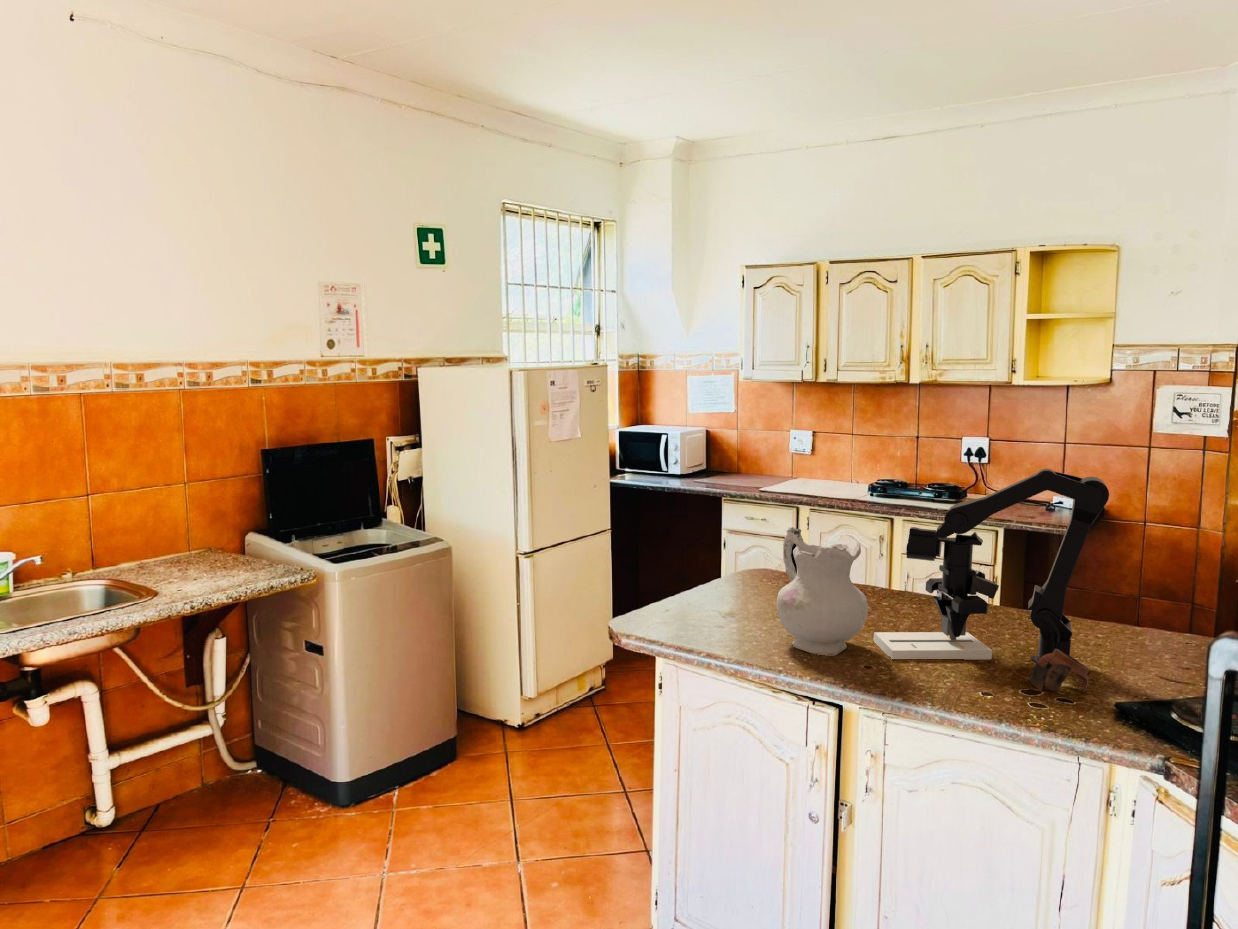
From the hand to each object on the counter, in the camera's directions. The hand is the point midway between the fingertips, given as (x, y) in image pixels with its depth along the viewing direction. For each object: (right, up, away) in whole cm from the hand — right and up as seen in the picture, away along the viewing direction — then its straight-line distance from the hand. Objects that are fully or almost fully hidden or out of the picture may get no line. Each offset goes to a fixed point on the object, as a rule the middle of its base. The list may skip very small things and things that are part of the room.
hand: (953, 634), depth 189 cm
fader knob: (0, -1, 0) cm, 1 cm away
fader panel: (-5, -3, 0) cm, 6 cm away
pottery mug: (+12, -7, -21) cm, 25 cm away
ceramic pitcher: (-29, -3, +3) cm, 29 cm away
